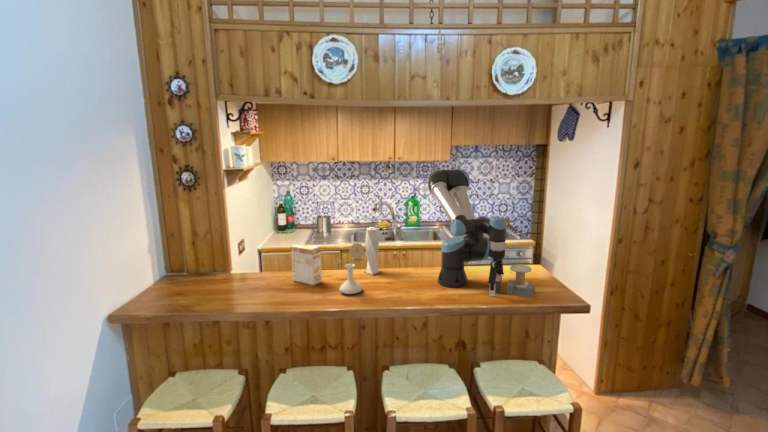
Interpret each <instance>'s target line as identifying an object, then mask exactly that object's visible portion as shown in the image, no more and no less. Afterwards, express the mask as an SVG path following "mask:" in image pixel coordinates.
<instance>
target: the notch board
mask: <svg viewBox="0 0 768 432" xmlns="http://www.w3.org/2000/svg"><path fill="white" fill-rule="evenodd" d="M535 291H536V284H535V283H531V282H528V285H527V287H526V289H519V288H516V281H514V280H508V282H507V284H506V285H505V294H506V295H512V296H513V295H514V296H519V297H524V298H530V299H532V298H533V296H534V294H535Z"/></svg>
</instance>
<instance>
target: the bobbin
mask: <svg viewBox="0 0 768 432" xmlns="http://www.w3.org/2000/svg"><path fill="white" fill-rule="evenodd" d="M509 268H510V270H511V271H512V272H515V279H514V280H513V281H516V288H519V289H525V290H526V287H527V285H528V283H529V282H528V281H526V274H528V273H531V272H532V267H531V266H529V265H525V264H512V265H510V266H509Z"/></svg>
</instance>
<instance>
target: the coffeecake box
mask: <svg viewBox="0 0 768 432" xmlns="http://www.w3.org/2000/svg"><path fill="white" fill-rule="evenodd" d="M290 250H291V253H290V254H291V255H290V256H291V266H292V267H291V268H292V269H291V270H292V280H293V282H298V283H303V284H305V285H309V286H316V285H317V284H320V283H322V282H323V278H322V277H323V275H322V274H323V273H322V259H321V258H322V257H321V253H322V252H321V246H318V245H312V244H308V243H307V244H306V243H300V242H299V243H296V244H293V245H290Z"/></svg>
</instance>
